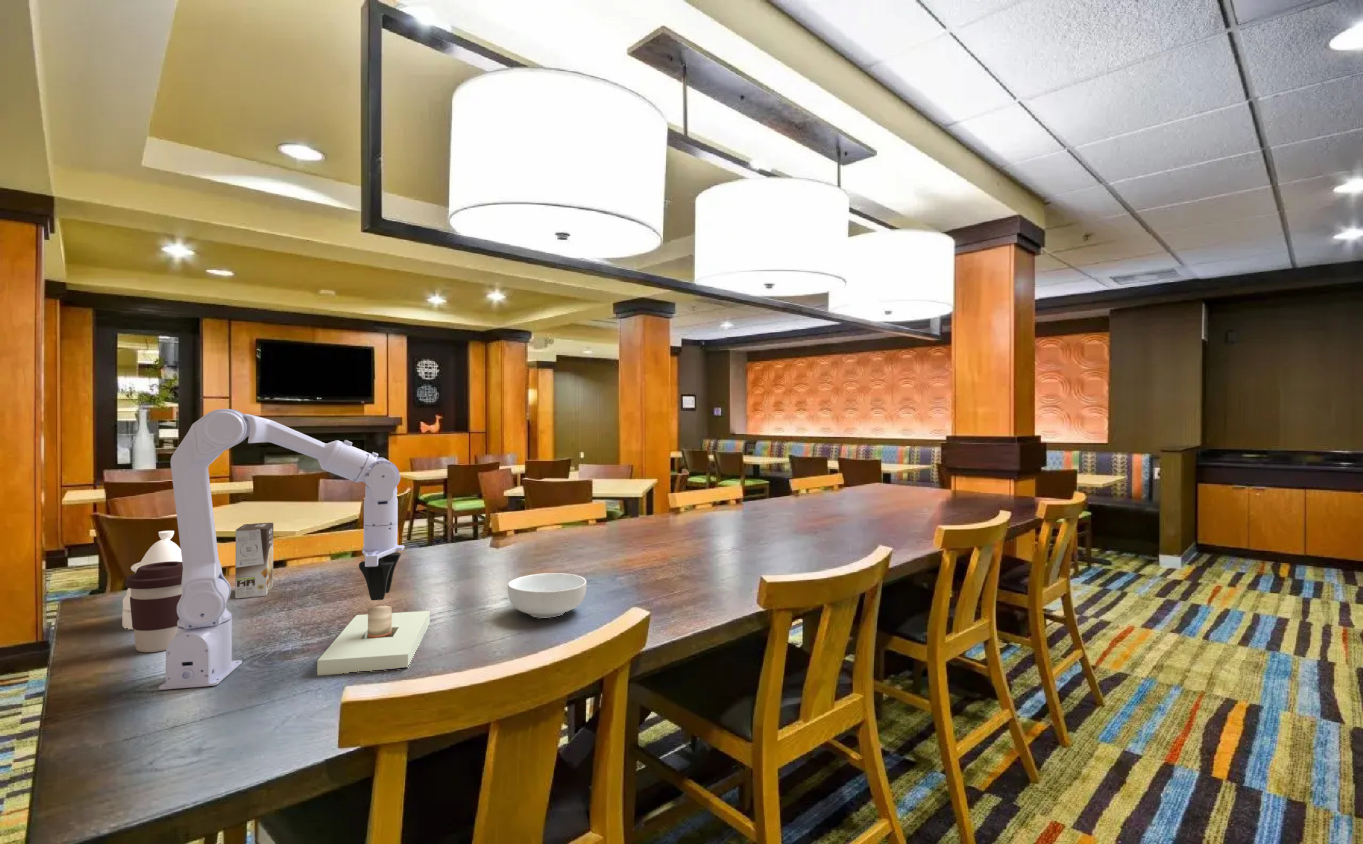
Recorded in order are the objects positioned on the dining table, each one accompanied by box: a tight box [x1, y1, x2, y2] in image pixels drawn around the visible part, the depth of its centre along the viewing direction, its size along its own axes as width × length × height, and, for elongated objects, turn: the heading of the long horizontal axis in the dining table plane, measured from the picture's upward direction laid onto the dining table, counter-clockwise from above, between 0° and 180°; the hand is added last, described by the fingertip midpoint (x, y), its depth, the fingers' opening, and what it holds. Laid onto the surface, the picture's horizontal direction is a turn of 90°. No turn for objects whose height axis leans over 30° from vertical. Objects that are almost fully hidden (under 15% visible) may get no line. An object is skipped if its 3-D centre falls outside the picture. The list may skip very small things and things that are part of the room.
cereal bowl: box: [507, 572, 588, 617], centre depth 138 cm, size 17×17×7 cm
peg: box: [367, 605, 393, 639], centre depth 117 cm, size 4×4×7 cm
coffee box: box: [234, 522, 274, 599], centre depth 151 cm, size 9×6×16 cm
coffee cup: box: [125, 561, 183, 653], centre depth 116 cm, size 10×10×15 cm
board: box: [316, 610, 431, 676], centre depth 118 cm, size 24×14×2 cm, turn 13°
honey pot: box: [121, 530, 182, 631], centre depth 131 cm, size 13×13×18 cm
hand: (380, 596), depth 117 cm, fingers open, 4 cm apart
